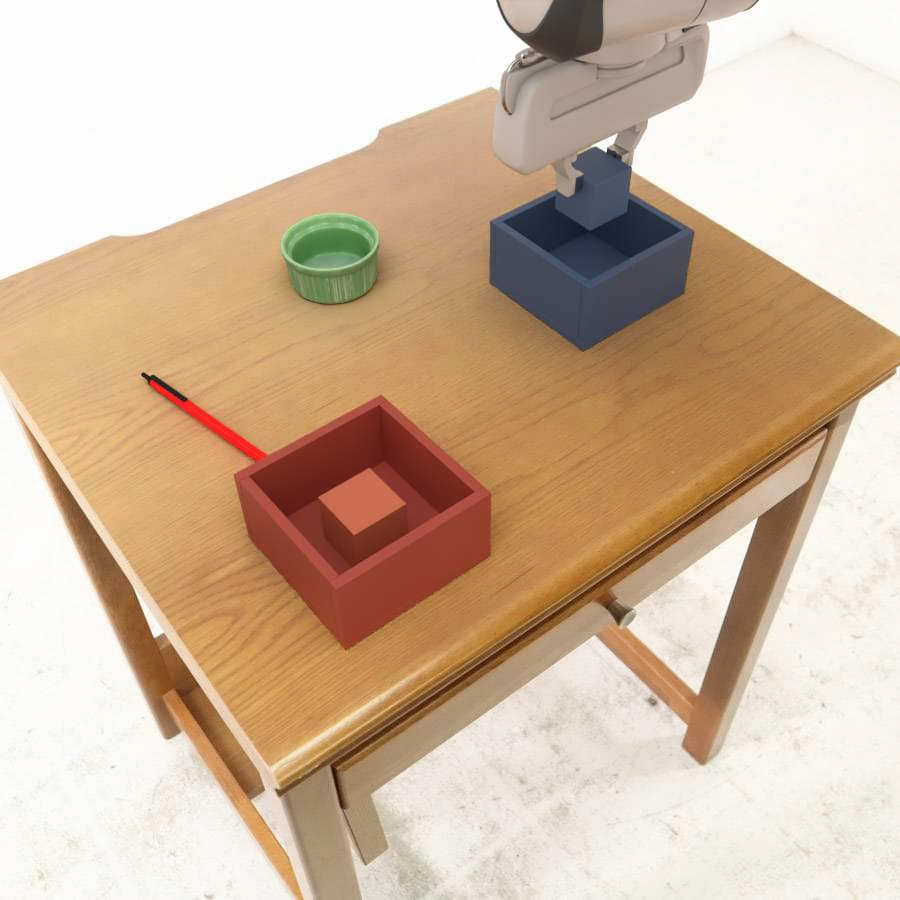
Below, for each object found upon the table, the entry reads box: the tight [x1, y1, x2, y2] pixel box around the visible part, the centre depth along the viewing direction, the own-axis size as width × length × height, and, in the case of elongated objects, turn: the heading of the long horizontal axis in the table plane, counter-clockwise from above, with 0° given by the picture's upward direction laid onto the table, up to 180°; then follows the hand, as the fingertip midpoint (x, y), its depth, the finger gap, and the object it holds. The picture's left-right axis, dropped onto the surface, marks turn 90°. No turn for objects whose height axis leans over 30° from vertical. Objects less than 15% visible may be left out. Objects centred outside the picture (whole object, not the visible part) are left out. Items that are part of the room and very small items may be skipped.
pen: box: [140, 371, 269, 462], centre depth 85 cm, size 1×19×1 cm, turn 48°
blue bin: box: [489, 188, 696, 352], centre depth 95 cm, size 13×13×7 cm
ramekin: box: [279, 212, 381, 305], centre depth 98 cm, size 9×9×4 cm
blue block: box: [555, 146, 633, 231], centre depth 90 cm, size 4×4×4 cm
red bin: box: [233, 394, 492, 651], centre depth 75 cm, size 13×13×7 cm
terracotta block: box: [318, 468, 409, 567], centre depth 75 cm, size 4×4×4 cm
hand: (594, 179), depth 89 cm, fingers closed on blue block, 4 cm apart
